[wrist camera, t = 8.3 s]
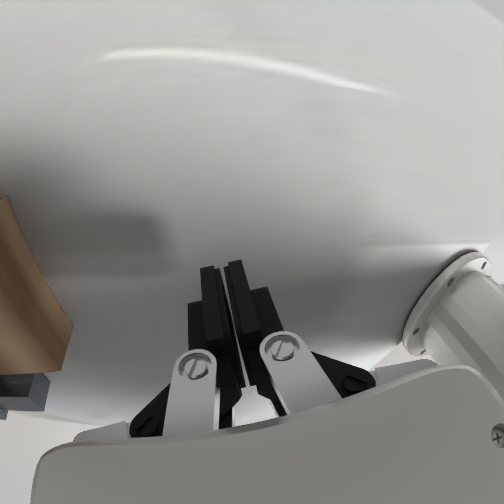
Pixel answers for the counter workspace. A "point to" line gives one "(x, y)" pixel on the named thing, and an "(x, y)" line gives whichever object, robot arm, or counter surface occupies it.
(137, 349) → the counter surface
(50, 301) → the walnut slab
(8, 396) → the stop bracket
